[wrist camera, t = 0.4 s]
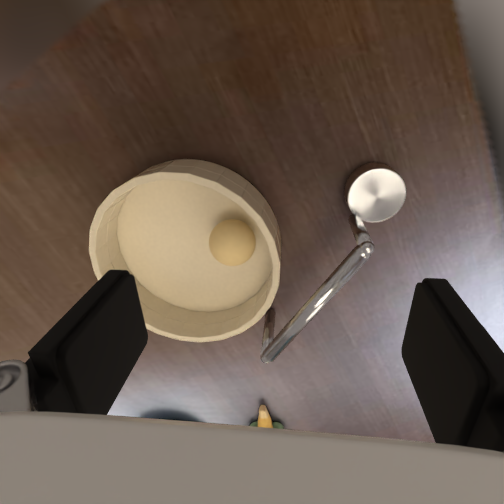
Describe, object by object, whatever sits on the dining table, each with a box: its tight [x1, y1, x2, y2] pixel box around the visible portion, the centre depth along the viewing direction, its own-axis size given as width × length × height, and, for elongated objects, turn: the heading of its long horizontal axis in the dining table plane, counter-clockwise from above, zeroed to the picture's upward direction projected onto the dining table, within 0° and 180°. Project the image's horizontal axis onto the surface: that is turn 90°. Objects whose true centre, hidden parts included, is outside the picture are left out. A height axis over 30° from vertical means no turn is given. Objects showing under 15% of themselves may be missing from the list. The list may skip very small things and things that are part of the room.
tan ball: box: [209, 219, 256, 266], centre depth 28 cm, size 4×4×4 cm
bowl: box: [89, 159, 282, 342], centre depth 30 cm, size 16×16×4 cm
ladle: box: [261, 162, 406, 364], centre depth 27 cm, size 18×4×7 cm, turn 149°
